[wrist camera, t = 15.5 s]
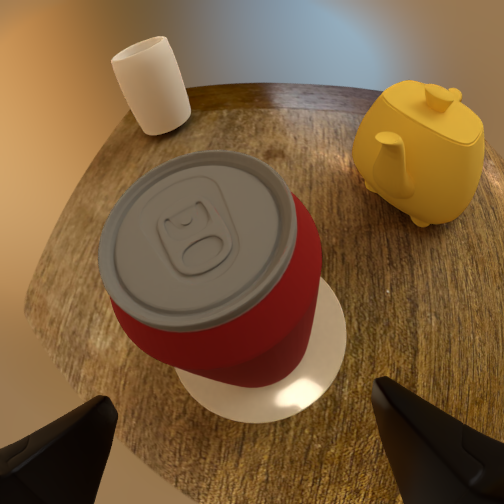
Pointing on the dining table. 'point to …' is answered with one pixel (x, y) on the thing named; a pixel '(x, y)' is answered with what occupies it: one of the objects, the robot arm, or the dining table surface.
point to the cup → (152, 85)
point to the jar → (291, 387)
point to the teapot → (421, 151)
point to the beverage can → (214, 268)
